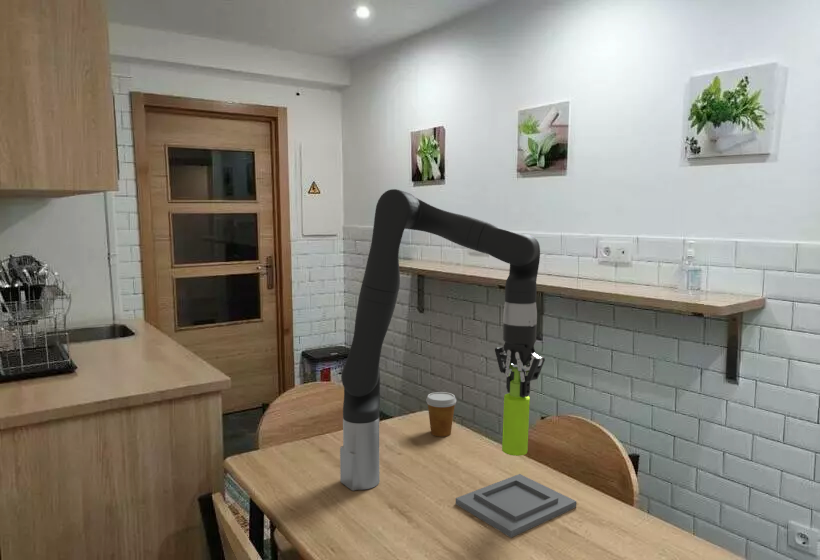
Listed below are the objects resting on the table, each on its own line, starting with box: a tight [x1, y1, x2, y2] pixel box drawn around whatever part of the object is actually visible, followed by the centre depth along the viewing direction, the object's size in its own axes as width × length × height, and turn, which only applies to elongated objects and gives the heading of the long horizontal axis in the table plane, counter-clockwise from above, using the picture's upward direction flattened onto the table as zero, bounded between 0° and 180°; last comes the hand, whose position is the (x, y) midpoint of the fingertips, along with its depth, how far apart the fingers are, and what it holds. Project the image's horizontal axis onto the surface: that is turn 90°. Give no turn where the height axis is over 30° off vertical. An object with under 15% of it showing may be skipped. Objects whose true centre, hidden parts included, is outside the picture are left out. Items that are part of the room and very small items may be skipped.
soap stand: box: [455, 473, 577, 538], centre depth 139 cm, size 22×18×2 cm
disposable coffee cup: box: [425, 391, 457, 438], centre depth 184 cm, size 10×10×12 cm
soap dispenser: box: [501, 367, 531, 457], centre depth 136 cm, size 6×7×20 cm
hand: (517, 394), depth 136 cm, fingers closed on soap dispenser, 3 cm apart
